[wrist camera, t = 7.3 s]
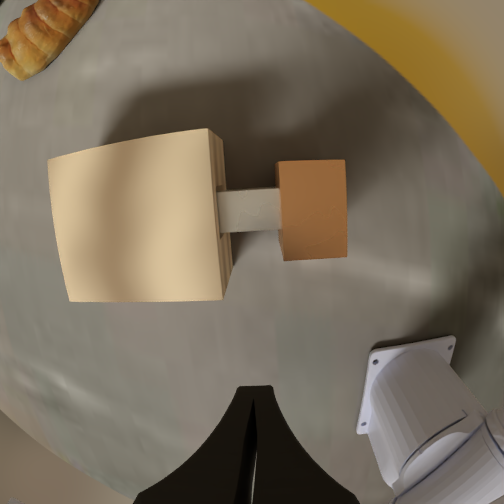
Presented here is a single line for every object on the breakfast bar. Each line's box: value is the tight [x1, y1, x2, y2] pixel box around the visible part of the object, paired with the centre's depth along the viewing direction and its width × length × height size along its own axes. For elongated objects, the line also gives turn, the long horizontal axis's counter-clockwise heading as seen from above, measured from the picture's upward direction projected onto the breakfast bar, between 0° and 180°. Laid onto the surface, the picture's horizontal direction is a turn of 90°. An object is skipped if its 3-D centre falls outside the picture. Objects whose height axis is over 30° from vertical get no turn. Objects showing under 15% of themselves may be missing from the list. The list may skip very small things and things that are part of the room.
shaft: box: [216, 160, 347, 261], centre depth 16 cm, size 16×4×4 cm, turn 94°
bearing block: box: [48, 128, 233, 302], centre depth 16 cm, size 9×8×5 cm
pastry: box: [0, 0, 99, 81], centre depth 14 cm, size 9×7×4 cm
